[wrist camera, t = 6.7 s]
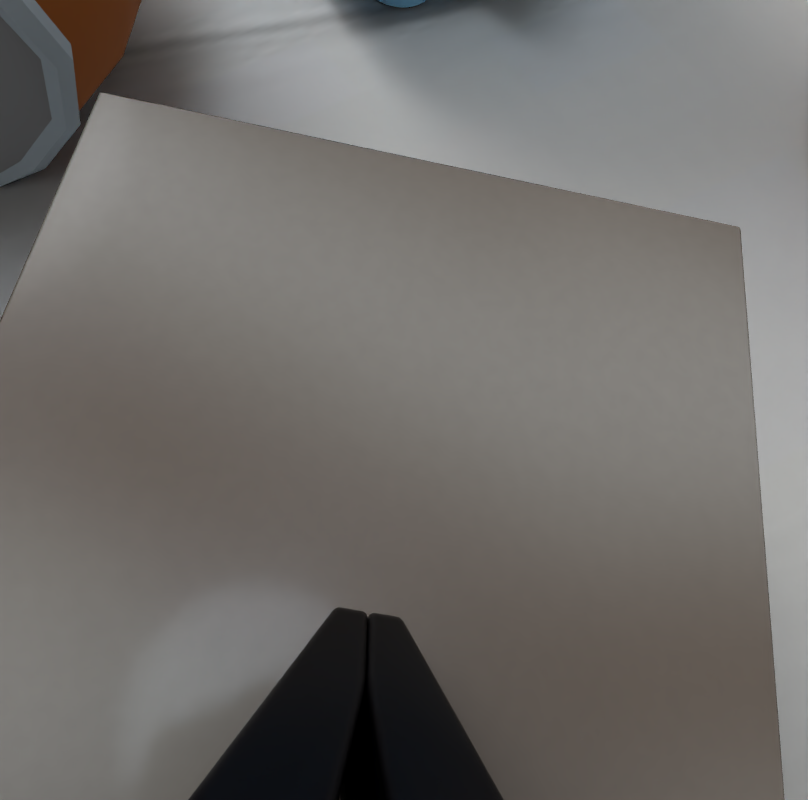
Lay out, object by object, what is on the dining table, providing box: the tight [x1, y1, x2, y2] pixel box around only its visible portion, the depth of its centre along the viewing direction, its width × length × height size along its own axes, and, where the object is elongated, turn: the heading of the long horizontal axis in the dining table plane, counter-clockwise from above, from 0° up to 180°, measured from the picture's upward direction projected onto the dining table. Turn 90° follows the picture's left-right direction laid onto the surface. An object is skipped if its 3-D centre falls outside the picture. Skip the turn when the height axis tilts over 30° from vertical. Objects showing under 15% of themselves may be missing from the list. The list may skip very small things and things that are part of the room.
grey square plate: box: [0, 92, 784, 800], centre depth 10 cm, size 13×12×1 cm
